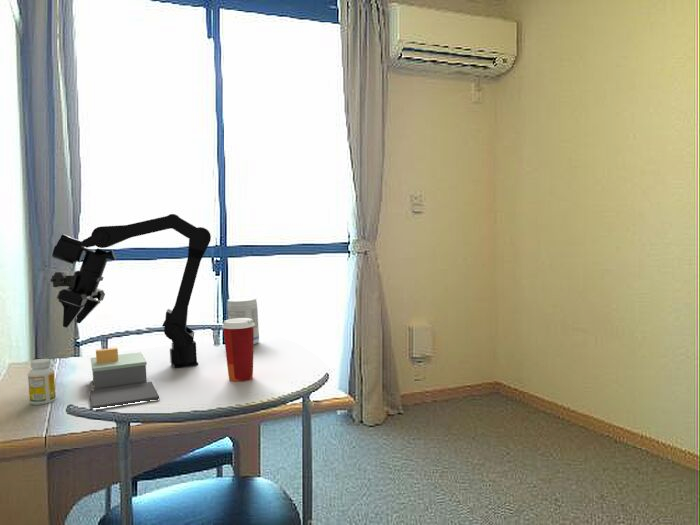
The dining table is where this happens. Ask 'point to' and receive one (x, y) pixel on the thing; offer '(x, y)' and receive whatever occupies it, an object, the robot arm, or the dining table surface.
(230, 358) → the coffee cup
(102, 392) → the mat
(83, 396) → the dining table surface
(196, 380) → the dining table surface
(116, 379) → the tub
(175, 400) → the dining table surface
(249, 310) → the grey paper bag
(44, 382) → the supplement bottle
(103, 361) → the lid
